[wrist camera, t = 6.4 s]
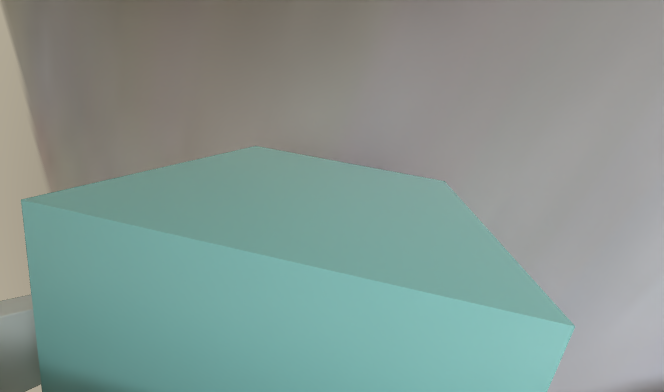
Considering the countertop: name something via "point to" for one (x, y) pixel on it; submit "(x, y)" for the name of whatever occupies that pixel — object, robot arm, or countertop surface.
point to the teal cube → (280, 284)
